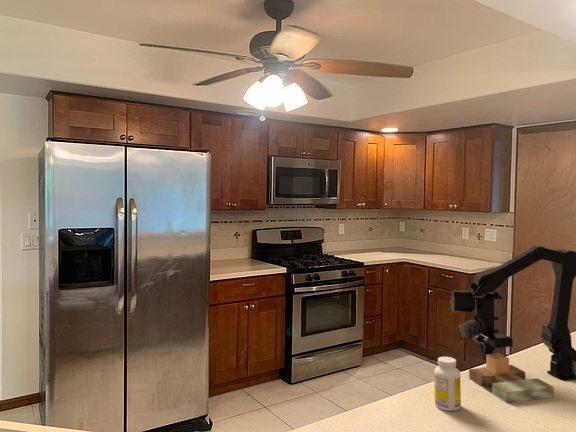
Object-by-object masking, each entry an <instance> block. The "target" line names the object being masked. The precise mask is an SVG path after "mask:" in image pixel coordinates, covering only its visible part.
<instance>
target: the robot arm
mask: <svg viewBox="0 0 576 432" xmlns="http://www.w3.org/2000/svg"><path fill="white" fill-rule="evenodd" d="M542 260H544V261H549V262H552V270H553V272H554V276H555V282H554V287H553V296H552V305H551V313H550V314H551V315H550V321H549V322H548V324H547V325H544V324H542V325H541V329H542V331H541V334H540V338H542V343H543V345H544V346H545V347H547V349H548V351H549V352H550V353H551V356H550V361H549V363H550V364H549V366H550V368H549V370H547V374H549V375H552V376H553V377H555V378H557V379H559V380H562V381H569V380H576V349H575V348H574V347H573V346H572V345H573V344H572V334H571V331H570V329H569V318H570V310H571V301H572V293H573V284H574V280H575V278H576V251H573V250H570V249H565V248H559V249H557V250H554V249H549V248H546V247H544V246H542V245H533V246H531V247H530V248H529V249H527V250H525V251H524V252H522V253H520V254H518V255H516V256H515V257H513V258H511V259H509V260H507V261H505V262H503V263H502V264H500V265H498V266H496V267H492V268H491V267H490V268H488V269H484V270H483V271H479V272H477V273H476V274H475V275H474V277H473V281H472V283H471V284H470V285H469V286H468V288H467V289H466V290H456V289H455V290H452V291H451V295H450V299H449V303H450V305H449V306H450V309H451V312H452V313H472V312H473V311H475V313H472V316H471V319H469V320H466V321H465V322H463V323H460V324H459V325H458V326H457V327H458V331H459V332H460V335H461V336H463V337H465V338H466V339H473V340H474V341H475V342H476V343H477V345H478V348H479V350H480V351H479V352H480V353H481V356H482V360H483V361H484V362H486V355H487V354H493V352H494V350H495V349H500V348H501V349H502V348H510V347H514V339H513V338H512V336H509V335H507V334H505V333H499V329H498V328H496V321H498V320H499V316H497V315H496V300H503V297H502V295H500V293H498V291H497V289H499V288H500V287H501V286H502V285H503V284H504V283H505V281H506V280H507V279H509V278H510V277H513V276H514V275H516V274H517V273H519V272H521V271H523V270H524V269H527V268H529V267H530V266H532V265H534V264H536V263H538V262H539V261H542Z"/></svg>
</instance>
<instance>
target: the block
mask: <svg viewBox="0 0 576 432" xmlns="http://www.w3.org/2000/svg"><path fill="white" fill-rule="evenodd" d="M485 362H486V363H485V365H486V366H485V368H486V369H487V370H489V371H491V372H493V373H494V374H504V373H509V365H510V358H509V357H508V356H505V355H503V354H501V353H498V352H497V353H492V354H487V355H486V361H485Z"/></svg>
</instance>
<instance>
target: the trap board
mask: <svg viewBox="0 0 576 432" xmlns="http://www.w3.org/2000/svg"><path fill="white" fill-rule="evenodd" d="M468 370H469V371H468V373H469V374H468V378H469V380H470V381H472V382H473V383H475V384H476V385H478V386H480V387H481V388H483V389H484V390H486V391H488V392H489V393H491V394H492V395H493V396H495V397H497V398H498V399H499V400H501V401H503V402H504V403H505V404H507V403H508V404H509V403H518V402H526V401H534V400H541V399H542V400H543V399H549V398H550V399H552V398H554V396H555V395H554V393H555V392H554V391H555V387H554V386H553V385H551V384H549V383H547V382H546V381H544V380H542V379H540V378H529V379H528V378H527V379H526V371H524V370H522V369H521V368H519V367H516V366H514V365H513V364H509V373H504V374H494V373H493V372H491V371H489V370H487V369H486V367H479V368H477V367H476V368H469V369H468Z"/></svg>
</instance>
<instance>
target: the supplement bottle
mask: <svg viewBox="0 0 576 432" xmlns="http://www.w3.org/2000/svg"><path fill="white" fill-rule="evenodd" d="M437 364H438V366H436V367H435V368H434V371H433V373H434V374H433V377H434V378H433V380H434V381H433V382H434V404H435V406H436V407H437V408H438V409H441V410H442V411H447V412H455V411H459V410H460V409H461V407H462V395H461V393H462V392H461V372H460V370H459V369H458V368H456V366H457V359H456V358H453V357H451V356H440V357H438V358H437Z"/></svg>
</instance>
